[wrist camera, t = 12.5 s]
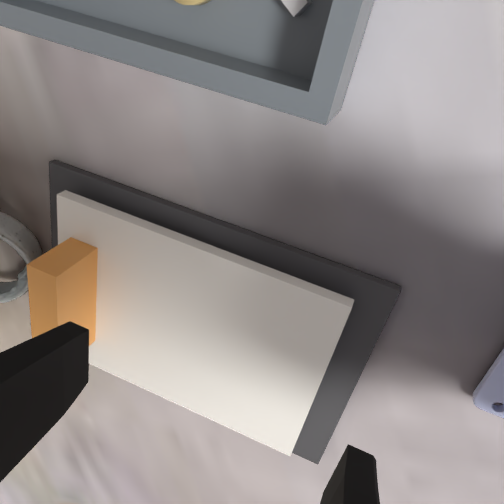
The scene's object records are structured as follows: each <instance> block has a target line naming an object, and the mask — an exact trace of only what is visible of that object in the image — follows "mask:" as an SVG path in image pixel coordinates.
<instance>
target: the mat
mask: <svg viewBox="0 0 504 504" xmlns="http://www.w3.org/2000/svg"><path fill="white" fill-rule="evenodd" d="M49 178H50V205H51V232H52V248H54V247H56V246H57V245H58V226H57V194H58V193H61V192H63V191H65V190H67V191H69V192H72V193H75V194H77V195H80V196H83V197H85V198H88V199H90V200H93V201H96V202H98V203H101V204H104V205H106V206H109V207H112V208H114V209H117V210H119V211H122V212H125V213H127V214H130V215H133V216H135V217H138V218H141V219H143V220H146V221H148V222H151V223H154V224H156V225H159V226H162V227H164V228H167V229H170V230H172V231H175V232H178V233H180V234H183V235H185V236H188V237H191V238H193V239H196V240H199V241H201V242H204V243H207V244H209V245H212V246H214V247H217V248H220V249H222V250H225V251H228V252H230V253H233V254H236V255H238V256H241V257H243V258H246V259H249V260H251V261H254V262H257V263H259V264H262V265H265V266H267V267H270V268H272V269H275V270H278V271H280V272H283V273H286V274H288V275H291V276H294V277H296V278H299V279H302V280H304V281H307V282H309V283H312V284H315V285H317V286H320V287H323V288H325V289H328V290H331V291H333V292H336V293H338V294H341V295H344V296H346V297H349V298H352V299H354V303H353V306H352V309H351V312H350V314H349V316H348V319H347V321H346V324H345V326H344V328H343V331H342V333H341V336H340V338H339V340H338V343H337V345H336V348H335V350H334V352H333V355H332V357H331V360H330V362H329V364H328V367H327V369H326V372H325V374H324V376H323V379H322V381H321V384H320V386H319V388H318V391H317V393H316V396H315V398H314V400H313V403H312V405H311V408H310V410H309V412H308V415H307V417H306V420H305V422H304V424H303V427H302V429H301V432H300V434H299V436H298V439H297V441H296V444H295V446H294V449H293V451H292V453H294V454H296V455H298V456H301V457H303V458H305V459H307V460H309V461H311V462H314V463H316V464H318V463H319V461H320V459H321V457H322V455H323V453H324V451H325V449H326V447H327V445H328V442H329V440H330V438H331V436H332V434H333V432H334V430H335V428H336V426H337V424H338V422H339V419H340V417H341V415H342V413H343V411H344V409H345V407H346V405H347V403H348V401H349V398H350V396H351V394H352V392H353V390H354V388H355V386H356V384H357V382H358V380H359V378H360V375H361V373H362V371H363V369H364V367H365V365H366V363H367V361H368V359H369V357H370V355H371V352H372V350H373V348H374V346H375V344H376V342H377V340H378V338H379V336H380V334H381V332H382V329H383V327H384V325H385V323H386V321H387V319H388V317H389V315H390V313H391V311H392V308H393V306H394V304H395V302H396V300H397V298H398V296H399V294H400V292H401V286H399V285H396V284H393V283H391V282H388V281H385V280H382V279H380V278H377V277H374V276H371V275H369V274H366V273H363V272H360V271H358V270H355V269H352V268H350V267H347V266H344V265H341V264H339V263H336V262H333V261H330V260H328V259H325V258H322V257H319V256H317V255H314V254H311V253H308V252H306V251H303V250H300V249H298V248H295V247H292V246H289V245H287V244H284V243H281V242H278V241H276V240H273V239H270V238H267V237H265V236H262V235H259V234H256V233H254V232H251V231H248V230H246V229H243V228H240V227H237V226H235V225H232V224H229V223H226V222H224V221H221V220H218V219H215V218H213V217H210V216H207V215H204V214H202V213H199V212H196V211H194V210H191V209H188V208H185V207H183V206H180V205H177V204H174V203H172V202H169V201H166V200H163V199H161V198H158V197H155V196H152V195H150V194H147V193H144V192H142V191H139V190H136V189H133V188H131V187H128V186H125V185H122V184H120V183H117V182H114V181H111V180H109V179H106V178H103V177H100V176H98V175H95V174H92V173H90V172H87V171H84V170H81V169H79V168H76V167H73V166H70V165H68V164H65V163H62V162H59V161H57V160H53V161H50V162H49Z"/></svg>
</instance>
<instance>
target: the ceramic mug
mask: <svg viewBox="0 0 504 504" xmlns="http://www.w3.org/2000/svg"><path fill="white" fill-rule="evenodd" d="M0 239H2V240H3V241H5V242H6V243H8V244H9V245H10V246H11V247H13V248H14V249H15V250H16V251H17V252H18V254H19V255H20V256H21V257H22V258H23V259H24V261H25V262H26V266H25V268H24V270H23V271H22V272H20V273H19V274H18V280H17V281H13V282H0V303H5V302H9V301H12V300H14V299H17V298H18V297H20V296H22V295H24V294H25V293H26V292H27V291H28V278H27V264H28V263H30V262H31V261H33V260H35V259H36V258H38V257H40V256H41V255H42V250H41V247H40V245H39V243H38V241H37V239H36V238H35V236H34V235H33V234H32V233H31V231H30V230H29V229H28V228H27V227H26V226H24V225H23V224H22V223H21V222H20V221H18V220H17V219H15V218H13V217H12V216H10V215H8V214H5V213H3V212H1V211H0Z"/></svg>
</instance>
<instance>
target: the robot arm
mask: <svg viewBox="0 0 504 504" xmlns="http://www.w3.org/2000/svg"><path fill="white" fill-rule="evenodd" d="M88 370H89V329H87V328H85V327H82V326H80V325H78V324H76V323H73V322H71V321H69V322H67V323H65V324H62V325H60V326H58V327H56V328H53V329H51V330H49V331H47V332H45V333H43V334H40V335H38V336H36V337H34V338H32V339H30V340H27V341H25V342H23V343H21V344H19V345H17V346H14V347H12V348H10V349H8V350H5V351H3V352H1V353H0V482H1V481H2V480H3V479H4V478H5V477H6V476H7V474H8V473H9V472H10V471H11V470H12V469H13V468H14V467H15V466H16V465H17V464H18V463H19V462H20V461H21V460H22V459H23V458H24V457H25V456H26V454H27V453H28V452H29V451H30V450H31V449H32V448H33V447H34V446H35V445H36V444H37V443H38V442H39V441H40V440H41V439H42V438H43V437H44V435H45V434H46V433H47V432H48V431H49V430H50V429H51V428H52V427H53V426H54V425H55V424H56V423H57V422H58V420H59V419H60V418H61V417H62V416H63V415H64V414H65V413H66V411H67V410H68V409H69V407H70V406H71V405H72V403H73V402H74V401H75V399H76V398H77V397H78V395H79V394H80V393H81V391H82V390H83V388H84V387H85V386H86V384H87V383H88ZM473 402H474V404H475V405H476V407H478V408H479V409H481V410H484V411H486V412H489V413H491V414H494V415H496V416H499V417H501V418H504V349H503V350H502V351H501V353H500V354H499V356H498V357H497V359H496V360H495V362H494V363H493V365H492V366H491V367H490V369H489V370H488V372H487V373H486V375H485V376H484V378H483V379H482V380H481V382H480V383H479V385H478V386H477V388H476V389H475V391H474V392H473ZM497 402H499V403H502V405H494V403H497ZM320 504H380V501H379V492H378V483H377V470H376V460H375V458H374V456H373V455H371V454H369V453H366V452H364V451H362V450H360V449H357V448H355V447H353V446H351V445H348V446H347V448H346V450H345V452H344V453H343V455H342V457H341V459H340V461H339V463H338V465H337V467H336V469H335V471H334V473H333V475H332V477H331V479H330V481H329V482H328V484H327V486H326V488H325V490H324V492H323V496H322V499H321V503H320Z"/></svg>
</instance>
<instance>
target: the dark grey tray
mask: <svg viewBox="0 0 504 504" xmlns="http://www.w3.org/2000/svg"><path fill="white" fill-rule="evenodd" d="M373 3H374V0H0V26H3V27H6V28H10V29H13V30H16V31H20V32H23V33H26V34H29V35H33V36H36V37H39V38H42V39H46V40H49V41H52V42H55V43H59V44H62V45H65V46H69V47H72V48H75V49H78V50H82V51H85V52H88V53H91V54H95V55H98V56H101V57H104V58H108V59H111V60H114V61H118V62H121V63H124V64H127V65H131V66H134V67H137V68H140V69H144V70H147V71H150V72H154V73H157V74H160V75H163V76H167V77H170V78H173V79H176V80H180V81H183V82H186V83H189V84H193V85H196V86H199V87H203V88H206V89H209V90H212V91H216V92H219V93H222V94H225V95H229V96H232V97H235V98H239V99H242V100H245V101H248V102H252V103H255V104H258V105H261V106H265V107H268V108H271V109H274V110H278V111H281V112H284V113H288V114H291V115H294V116H297V117H301V118H304V119H307V120H310V121H314V122H317V123H320V124H324V125H327V124H328V123H329V122H330V121H331V120H332V119H333V118H334V117H335V116H336V114H337V113H338V112H339V111H340V110H341V108H342V104H343V101H344V98H345V95H346V91H347V88H348V85H349V82H350V78H351V75H352V72H353V69H354V65H355V62H356V59H357V55H358V52H359V49H360V46H361V42H362V39H363V36H364V33H365V29H366V26H367V23H368V20H369V16H370V13H371V10H372V6H373Z"/></svg>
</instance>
